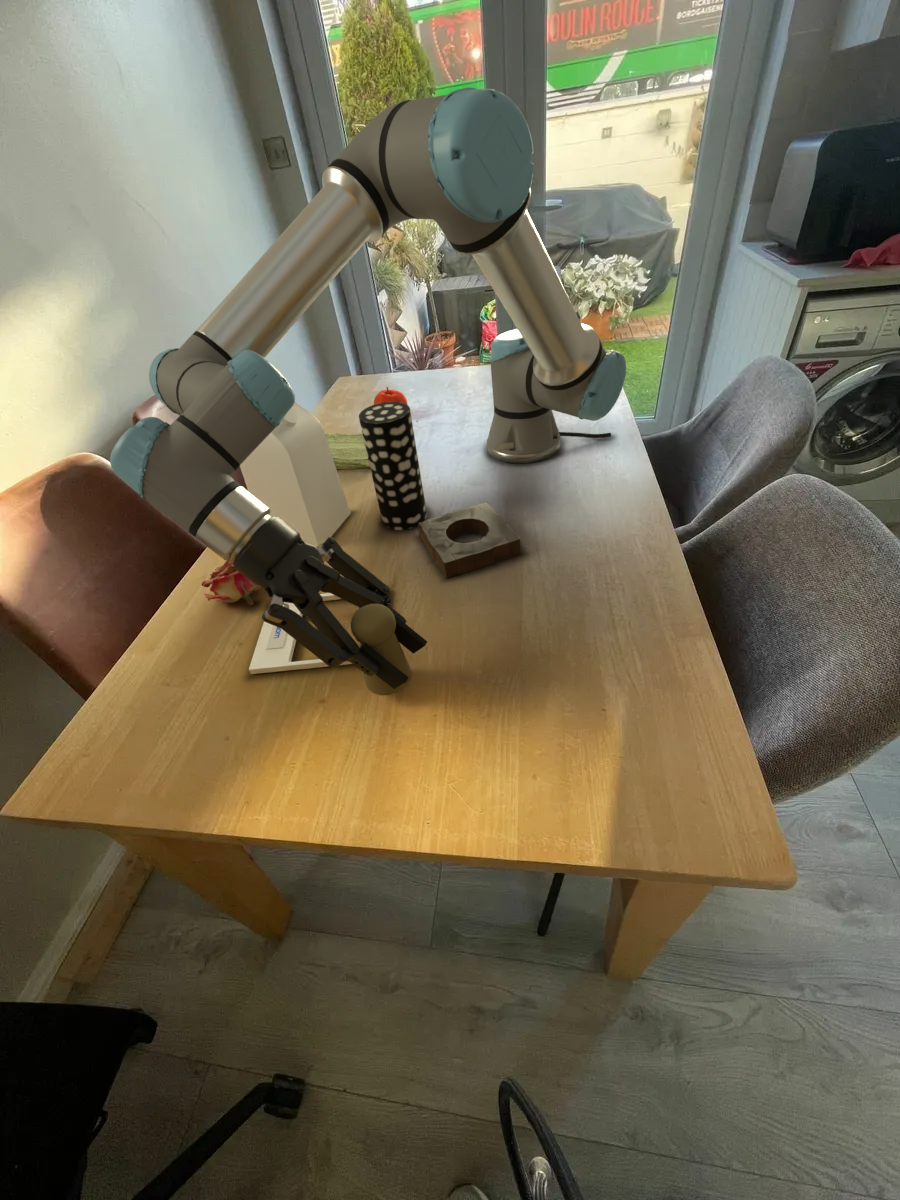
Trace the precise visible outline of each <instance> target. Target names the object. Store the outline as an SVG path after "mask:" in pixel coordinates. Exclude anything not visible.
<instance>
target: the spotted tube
mask: <svg viewBox="0 0 900 1200" xmlns="http://www.w3.org/2000/svg"><path fill="white" fill-rule="evenodd" d="M407 404H408V403H407ZM407 404H405V403H401V402H384V403H379V404H375V405H374V404H372V405H370V406H367V407H366V408H364V409H362V410H361V411H360V412H359V413H358V420H359V424H360V428H361V434H363V438H364V442H365V447H366V451H367V456H368V460H369V464H370V468H369V469H370V473H371V477H372V482H373V486H374V491H375V495H376V500H377V504H378V508H379V512H380V517H381V522H382V524H383V526H385V527H386V528H388V529H390V530H394V531H405V530H410V529H413V528H416V527H418V523H419V522H422V521H426V520H427V517H428V512H427V505H426V499H425V494H424V487H423V482H422V475H421V469H420V462H419V456H418V451H417V450H418V449H417V444H416V439H415V432H414V425H413V418H412V413H411V407H410V406H409V405H407Z"/></svg>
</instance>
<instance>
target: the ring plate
mask: <svg viewBox="0 0 900 1200" xmlns="http://www.w3.org/2000/svg"><path fill="white" fill-rule="evenodd" d="M417 527H418V532H419V537H420V539H421V541H422V542H423V544H424V545H425V547H426V548H427V550H428V553H429V555H430V556H431V558H432V559H433V561H434V562H435V563H436V564H437V566H438V567H439V569H440V571H441V572H442V573H443V575H444V577H445V578H446V579H449V578H452V577H455V576H458V575H460V574H464V573H467V572H470V571H474V570H479V569H481V568H485V567H488V566H490V565H493V564H495V563H498V562H500V561H503V560H507V559H509V558H513V557H516V556H519V555H521V554H522V553H521V552H522V551H521V550H522V549H521V538H520V537H519V536H518V535H517V533H516V532H515V531H514V530H513V529H512V528H511V527H510V526H509V525H508V522H507V521H506V520H505V519H504V517H503V516H502V515H500V514H499V513H498V512H497V511H496V509H494V508H493V507H492V506H491V505H490V504H489V503H488V501H485V502H482V503H479V504H475V505H471V506H468V507H465V508H461V509H456V510H454V511H450V512H446V513H445V514H443V515H439V516H436V517H433V518H429V519H425V521H422V522H419V523H418V526H417ZM465 534H477V535H481V536H483V537H482V538H480V539H479V540H475V541H472V542H464V543H462V542H457V541H453V539H455V538H457V537H459V536H462V535H465Z"/></svg>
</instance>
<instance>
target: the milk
mask: <svg viewBox="0 0 900 1200" xmlns="http://www.w3.org/2000/svg"><path fill="white" fill-rule="evenodd" d="M325 434H326V433H325V429H324V427H323V424H322V422H321V421H320V419H318V417H316V416H315V415H314V414H313V413H311V412H310V411H309V410H307V409H306V408H304V407H303V406H302V405H300V404H299V403H297V402H296V401H295V403H294V405H293V406H292V407H291V409H290V410H289V411H288V412H287V414H286V415H285V416H284V418H283V419H282V420H281V421H280V425H279V426H278V427H276V428H275V429H274V430H273V431H272V432H271V433H270V434H269V435H268V436H267V437H266V438H265V439H264V440H263V441H262V442H261V444H260V445H259V446H258V447H257V448H256V449H255V450H254V451H253V452H252V453H251V454H250V455H249V456H248V457H247V458H246V459H245V460H244V461H243V463H242V464H241V465H240V467H239V469H240V471H241V474H242V477H243V480H244V483H245V486H246V490H247V491H249V492H250V493H251V494H252V495H254V496H255V497H256V498H257V499H259V500H260V501H261V502H262V503H264V504H265V505H266V506H267V507H269V508H270V512H271V513H270V516H271V517H273V516H276V517H277V516H279V517H280V518H282V519H283V520H284V521H285V522H286V523H288V524H289V525H290V526H291V527H293V528H294V529H295V530H296V531H297V532H299V534H300V537H301V539H302V540H303V541H304V542H306V543H308V544H311V545H314V546H315V547H316V546H318V545H320V544H323V543H324V542H325V541H326V540H327V539H328V538H329V537H332V536H333V535H334V534H335V533H336V532H337V531H338V529H339V528H340V527H341V526H342V524H343V523H344V522H345V521H346V520H347V519H348V517H349V516H350V515H351V509H350V507H349V504H348V501H347V498H346V494H345V491H344V489H343V485H342V482H341V480H340V476H339V472H338V469H336V466H335V463H334V460H333V457H332V454H331V451H330V448H329V445H328V442H327V439H326V436H325Z"/></svg>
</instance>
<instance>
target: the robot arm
mask: <svg viewBox="0 0 900 1200" xmlns="http://www.w3.org/2000/svg"><path fill="white" fill-rule="evenodd" d="M523 114H524V113H522V110H521V109H520V108H519V107H518V105H517V104H516V103H515V102H514V101H513V100H512V99H511V98H510V97H509V96H508V95H506V94H505V93H503V92H501V91H500V90H496V89H493V88H476V87H462V88H458V89H455V90H452V91H450V92H449V93H447V94H441V95H436V96H430V97H423V98H417V99H407V100H403V101H399V102H396V103H393V104H392V105H390V106H387V107H386V108H385V109H383V110H382V111H381V112H380V113H378V114H377V115H375V116H374V117H373V118H371V120H370V121H369V122H368V123H367V124H366V125H365V126H364V127H363V128H362V129H361V130H359V132H358V133H357V134H356V135H355V136H354V137H353V138H352V139H351V140H350V141H349V143H348V144H347V145H346V146H344V148H343V149H342V151H341V152H340V153H339V154H338V155H337V156H336V157H335V158H334V159H333V161H331V163H330V164H329V165H328V166H327V167H326V168H325V170H324V171H323V173H322V176H321V184H322V188H321V189H320V190H319V191H318V192H317V193H316V194H315V195H314V197H312V199H311V200H310V201H309V202H308V203H307V205H306V206H305V207H304V208H303V209H302V210H301V211H300V213H298V215H297V216H296V217H295V218H294V219H293V220H292V222H290V224H289V225H288V226H287V227H286V228H285V230H284V231H283V232H281V234H280V235H279V236H278V237H277V238H276V240H275V241H274V242H273V243H271V245H270V246H269V247H268V249H267V250H266V251H265V252H264V253H263V254H262V256H261V257H259V259H258V260H257V261H256V262H255V264H253V266H252V267H251V268H250V269H249V270H248V272H247V273H245V275H244V276H243V277H242V278H241V279H240V280H239V281H238V283H237V284H236V285H235V286H233V288H232V289H231V291H230V292H229V293H228V294H227V295H226V296H225V297H224V299H222V300H221V302H220V303H219V304H218V305H217V306H216V307H215V309H214V310H213V311H211V313H210V314H209V316H208V317H206V318H205V320H204V321H203V323H201V325H200V326H199V327H198V328H197V329H196V330H195V331H194V332H193V333H192V334H191V335H190V336H189V337H188V338H187V339H186V340H185V341H184V342H183V344H182V345H181V346H180V347H179V348H178V347H175V348H170V349H165V350H163V351H162V352H159V353H158V354H157V355H156V356H155V357H154V359H153V360H152V361H151V364H150V366H149V371H148V381H149V384H150V385H149V386H150V387H151V390H152V392H153V393H154V395H155V396H156V398H157V399H158V400H159V401H160V402H161V404H163V405H165V407H166V408H167V409H168V410H169V411H171V413H173V414H177V415H178V417H177V418H176V419H175V420H174V421H173V422H172V423H171V424H169V423H168V422H167V421H163V420H162V419H161V418H158V417H156V416H147V417H144V418H142V419H140V420H139V421H137V422H136V423H135V425H133V426H130V427H129V428H128V429H126V431H125V432H123V434H122V435H121V436H120V437H119V438H118V440H117V441H116V443H115V444H114V447H113V448H112V450H111V453H110V457H109V462H110V463H109V464H110V468H111V470H112V472H113V473H114V474H115V476H117V477H118V478H119V479H120V480H122V481H123V483H125V484H126V485H127V486H128V487H130V488H131V489H132V490H133V491H134V492H135V493H137V494H138V495H139V497H140V498H142V499H143V500H145V501H146V502H147V503H149V504H150V505H151V506H153V507H154V508H155V509H156V510H158V511H159V512H160V513H162V514H163V515H165V516H166V517H167V518H169V519H170V520H171V521H173V522H174V523H176V524H177V526H179V527H180V528H182V529H183V530H185V531H186V532H187V533H188V534H190V535H191V536H193V537H194V538H195V539H197V540H198V541H199V542H200V543H201V544H203V545H204V546H205V547H207V548H208V549H209V550H211V551H212V552H213V553H214V554H216V555H217V556H219V557H220V558H221V559H223V560H224V561H226V560H230V559H231V558H232V559H233V560H234V561H233V565H234V568H235V569H236V570H237V571H239V572H240V573H241V574H242V575H244V576H245V577H246V578H248V579H249V580H250V581H252V582H253V583H254V584H257V585H258V586H259V585H260V586H261V588H263V589H264V591H265V592H266V594H267V596H268V597H269V599H270V600H269V602H268V606H267V608H266V610H265V611H264V612H263V614H262V615H261V619H262V621H263V623H264V622H266V623H269V624H271V625H274V626H277V627H279V628H281V629H283V630H284V631H285V632H286V633H288V634H289V635H290V636H291V637H293V638H294V639H295V640H296V642H297V643H299V644H300V645H301V646H303V647H304V648H305V649H307V651H309V652H310V653H311V654H313V655H314V656H315V657H316V658H317V659H320V660H322V661H323V662H324V663H326V664H327V665H328V666H327V667H328V668H331V669H337V668H338V667H339V666H341V665H340V664H342V663H343V662H346V661H349V662H351V663H352V664H351V665H353V666H355V667H356V668H357V669H358V670H360V671H361V672H362V673H363V674H364V673H365V674H366V675H368V676H373V675H374V674H375V675H376V676H378V677H379V678H380V679H382V680H383V681H384V682H385V683H387V684H388V685H389V686H391V687H392V688H393V689H395V688H397V687H399V686H400V685H402V684H404V683H405V682H406V681H407V679H408V678H409V677H408V676H407V675H405V674H404V673H403V672H402V671H400V670H399V669H398V668H396V667H395V666H394V665H393V664H391V663H390V662H389V661H388V660H386V659H385V658H384V657H383V656H381V655H380V654H379V653H377V652H376V651H375V650H374V649H372V648H371V647H370V646H369V645H367V644H366V643H364V644H363V645H362V646H360V645H359V644H358V643H357V641H356V640H355V639H354V638H353V637H352V635H351V634H350V633H349V632H348V631H347V630H346V629H345V627H344V625H342V624H341V622H340V621H339V620H338V619H337V617H336V616H335V615H334V614H333V612H332V611H331V610H330V609H329V607H328V606H327V605H326V604H325V603H324V601H323V598H322V596H321V595H320V594H321V593H320V592H322V593H324V594H325V593H331V594H333V595H335V596H337V597H339V598H341V599H340V600H344V601H346V602H348V603H349V604H351V605H353V606H356V607H357V608H358V609H360V608H361V607H363V606H365V605H369V604H381V605H384V606H386V607H387V608H389V609H390V610H391V611H392V613H393V614H394V617H395V621H396V628H395V632H394V633H395V635H396V637H397V639H398V641H399V644H400V645H402V646H403V647H404V648H406V649H407V650H408V651H409V652H410V653H412V654H415V653H416V652H418V651H420V650H421V649H422V648H424V647H426V645H427V643H428V641H427V640H426V639H425V638H424V637H423V636H422V635H420V634H419V633H417V632H416V631H415V630H414V629H413V628H412V627H410V626H409V625H408V624H406V623H407V620H406V618H405V616H403V615H402V614H400V613H399V612H398V611H397V610H396V609H394V608H393V607H392V606H391V605H390V604H391V603H392V598H391V597H390V596H389V594H390V593H391V589H390V587H389V586H388V585H387V584H385V582H383V581H382V580H381V579H379V578H378V577H377V576H376V575H374V574H373V573H372V572H370V570H369V569H368V568H366V567H365V566H363V565H362V564H361V563H359V561H357V560H356V559H354V558H353V557H352V556H351V555H350V554H348V553H347V552H346V551H345V550H344V549H343V548H342V547H341V545H340V544H339V542H338V541H337V540H336V539H335V538H334V537H332V536H331V537H329V538H328V539H327V540H326V541H325V542H324V543H323V544H320V545H318V546H316V547H315V546H314V545H311V544H308V543H306V542H304V541H303V540H302V539H301V537H300V534H299V532H297V531H296V530H295V529H294V528H293V527H291V526H290V525H289V524H288V523H286V522H285V521H284V520H283V519H282V518H280V517H279V516H277V517H276V516H273V517H271V516H270V513H271V512H270V508H269V507H267V506H266V505H265V504H264V503H262V502H261V501H260V500H259V499H257V498H256V497H255V496H254V495H252V494H251V493H250V492H249V491H248V489H247V488H245V487H244V486H242V485H241V484H240V483H239V482H237V481H236V480H235V479H234V478H233V477H232V475H233V474H234V473H235V472H237V470H238V469H239V468H240V465H241V464H242V463H243V461H244V460H245V459H246V458H247V457H248V456H249V455H250V454H251V453H252V452H253V451H254V450H255V449H256V448H257V447H258V446H259V445H260V444H261V442H262V441H263V440H264V439H265V438H266V437H267V436H268V435H269V434H270V433H271V432H272V431H273V430H274V429H275V428H276V427H278V426H279V425H280V421H281V420H282V419H283V418H284V416H285V415H286V414H287V412H288V411H289V410H290V409H291V407H292V406H293V405H294V403H295V402H296V395H295V392H294V389H293V388H292V386H291V384H290V383H289V381H288V380H287V379H286V378H285V376H284V375H283V373H281V371H279V370H278V369H277V368H276V367H275V365H273V364H272V363H271V362H270V361H269V360H268V359H267V358H266V357H267V356H268V354H269V353H270V352H271V351H272V350H273V349H274V348H275V347H276V346H277V345H278V343H279V342H280V341H281V340H282V338H284V336H285V335H286V334H287V333H288V332H289V331H290V330H291V328H292V327H294V325H295V323H296V322H297V321H299V319H300V318H301V317H302V316H303V314H304V313H305V312H306V311H307V310H308V309H309V308H310V306H311V305H312V304H313V303H314V302H315V301H316V299H318V297H319V296H320V295H321V294H322V293H323V291H324V290H325V289H326V288H327V287H328V286H329V285H330V284H331V282H332V281H333V280H334V279H335V278H336V277H337V276H338V275H339V274H340V272H341V271H342V270H343V269H344V267H345V266H346V265H347V264H348V263H349V262H350V261H351V260H352V258H353V257H354V256H355V255H356V254H357V252H358V251H359V250H360V249H361V248H362V247H363V246H364V244H366V243H371V244H372V243H377V242H379V241H380V239H382V237H383V236H384V235H385V234H386V233H387V232H388V231H389V230H390V229H391V228H393V227H394V226H396V225H398V224H400V223H403V222H404V221H405V222H406V221H408V220H433V222H435V223H436V224H437V226H438V227H439V228H440V231H441V232H442V233H443V235H444V236H445V238H446V240H447V241H448V242H449V244H450V245H451V248H453V250H455V252H457V253H458V254H460V255H463V256H470V255H471V256H472V258H473V259H474V261H475V263H476V264H477V265H478V267H479V269H480V271H481V272H482V274H483V275H484V277H485V279H486V280H487V282H488V283H489V285H490V287H491V288H492V290H493V292H494V293H495V295H496V296H497V298H498V300H499V302H500V304H501V305H502V306H503V308H504V310H505V311H506V313H507V314H508V316H509V318H510V319H511V321H512V323H513V324H514V326H515V327H516V328H514V329H511V330H507V331H505V332H503V333H500V334H499V335H496V336H495V338H494V339H493V340H492V342H491V344H490V360H489V362H490V374H491V375H490V376H491V387H492V399H493V400H492V401H493V416H492V421H491V424H490V428H489V431H488V432H489V433H488V436H487V440H486V445H487V451H488V454H489V455H490V456H491V457H492V458H493V459H496V460H498V461H501V462H503V463H509V464H530V463H535V462H539V461H543V460H546V459H548V458H550V457H552V456H553V455H555V454H556V453H557V452H558V451H559V449H560V447H561V437H574V438H586V439H587V438H588V439H604V438H610V437H612V433H611V432H604V433H586V432H570V431H568V432H567V431H559V428H558V425H557V421H556V419H555V416H554V413H553V411H554V412H557V413H561V414H565V415H568V416H572V417H575V418H578V420H587V421H593V422H594V421H599V420H601V419H603V418H604V417H606V416H607V415H608V414H609V413H610V412H611V411H612V409H613V408H614V407H615V405H616V404H617V401H618V399H619V396H621V395H620V394H621V393H622V390H623V387H624V383H625V381H626V374H627V362H626V358H625V355H623V354H622V352H619V351H617V350H616V349H607V348H605V347H604V345H603V343H602V341H601V339H600V337H599V335H598V333H597V331H596V330H595V329H594V328H593V327H592V326H590V325H588V324H585V323H582V322H581V320H580V318H579V316H578V314H577V312H576V310H575V308H574V306H573V304H572V302H571V300H570V297H569V295H568V293H567V291H566V289H565V287H564V285H563V283H562V281H561V279H560V276H559V274H558V272H557V271H556V268H555V266H554V264H553V262H552V259H551V258H550V256H549V253H548V251H547V249H546V246H545V245H544V243H543V241H542V239H541V237H540V234H539V232H538V231H537V228H536V227H535V224H534V222H533V220H532V218H531V216H530V214H529V212H528V208H529V205H530V201H531V196H532V189H531V188H532V187H531V186H532V183H533V178H534V170H535V164H534V163H533V162H532V161H531V156H532V155H533V154H534V143H533V139H532V135H531V131H530V128H529V125H528V122H527V120H526V118H525V116H524V115H523ZM325 563H326V564H325ZM284 602H287V603H293V604H294V605H295V606H296V608H297V609H298V610H299V611H300V612H301V614H302V617H301V616H300V615H299V614H297V613H296V612H294V611H292V610H291V609H289V605H288V604H285V603H284ZM303 617H306V618H308V620H309V621H310V622H311V623H312V624H311V623H310V622H309V621H307V620H306V619H305V618H303Z"/></svg>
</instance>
